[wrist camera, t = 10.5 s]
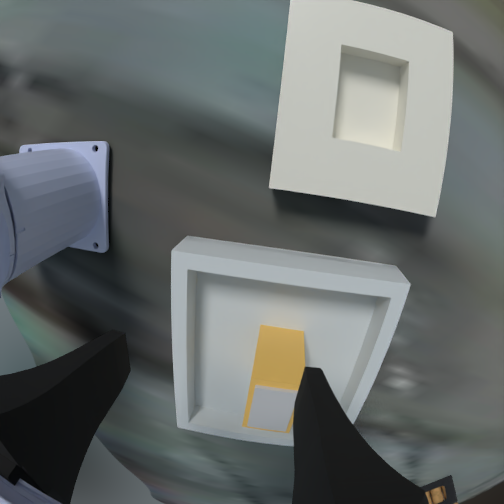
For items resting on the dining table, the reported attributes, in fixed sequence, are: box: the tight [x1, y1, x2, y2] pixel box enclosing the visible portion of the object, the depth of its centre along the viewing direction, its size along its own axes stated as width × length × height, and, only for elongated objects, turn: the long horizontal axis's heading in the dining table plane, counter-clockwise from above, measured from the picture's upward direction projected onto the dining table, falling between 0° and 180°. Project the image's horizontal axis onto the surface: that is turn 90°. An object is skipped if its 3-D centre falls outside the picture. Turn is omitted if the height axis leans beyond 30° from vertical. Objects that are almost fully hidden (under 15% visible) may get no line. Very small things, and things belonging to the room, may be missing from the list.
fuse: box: [242, 324, 305, 433], centre depth 19 cm, size 3×4×6 cm, turn 172°
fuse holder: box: [269, 0, 453, 217], centre depth 15 cm, size 10×12×2 cm
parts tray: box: [171, 236, 411, 446], centre depth 21 cm, size 14×16×3 cm
